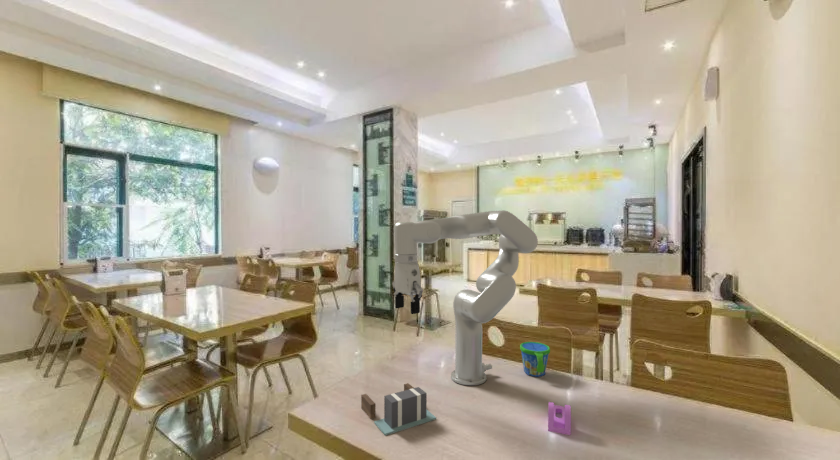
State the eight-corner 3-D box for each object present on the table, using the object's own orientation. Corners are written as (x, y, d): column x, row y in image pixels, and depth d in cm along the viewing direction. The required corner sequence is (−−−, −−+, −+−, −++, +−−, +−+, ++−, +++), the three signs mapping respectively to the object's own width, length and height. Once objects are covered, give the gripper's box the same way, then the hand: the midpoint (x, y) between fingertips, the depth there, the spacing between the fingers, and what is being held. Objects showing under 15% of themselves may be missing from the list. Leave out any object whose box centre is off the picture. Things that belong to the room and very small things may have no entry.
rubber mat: (423, 408, 110) (423, 406, 110) (436, 419, 104) (436, 417, 104) (374, 423, 102) (374, 421, 102) (385, 435, 96) (385, 433, 96)
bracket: (570, 435, 96) (570, 409, 96) (548, 431, 98) (548, 405, 98) (568, 411, 109) (569, 388, 109) (548, 408, 111) (549, 385, 110)
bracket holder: (408, 395, 118) (408, 383, 118) (419, 404, 112) (419, 391, 112) (361, 408, 110) (361, 394, 110) (370, 418, 104) (370, 404, 104)
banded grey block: (418, 410, 108) (418, 386, 108) (426, 417, 104) (426, 393, 104) (384, 420, 102) (384, 395, 102) (391, 428, 98) (391, 402, 98)
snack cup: (553, 383, 127) (554, 354, 127) (522, 381, 129) (522, 352, 129) (545, 366, 143) (545, 340, 143) (517, 364, 144) (517, 338, 144)
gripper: (430, 260, 117) (431, 313, 117) (402, 256, 131) (403, 304, 131) (410, 262, 112) (411, 317, 113) (383, 258, 127) (384, 307, 127)
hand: (407, 310), depth 122 cm, fingers open, 9 cm apart
